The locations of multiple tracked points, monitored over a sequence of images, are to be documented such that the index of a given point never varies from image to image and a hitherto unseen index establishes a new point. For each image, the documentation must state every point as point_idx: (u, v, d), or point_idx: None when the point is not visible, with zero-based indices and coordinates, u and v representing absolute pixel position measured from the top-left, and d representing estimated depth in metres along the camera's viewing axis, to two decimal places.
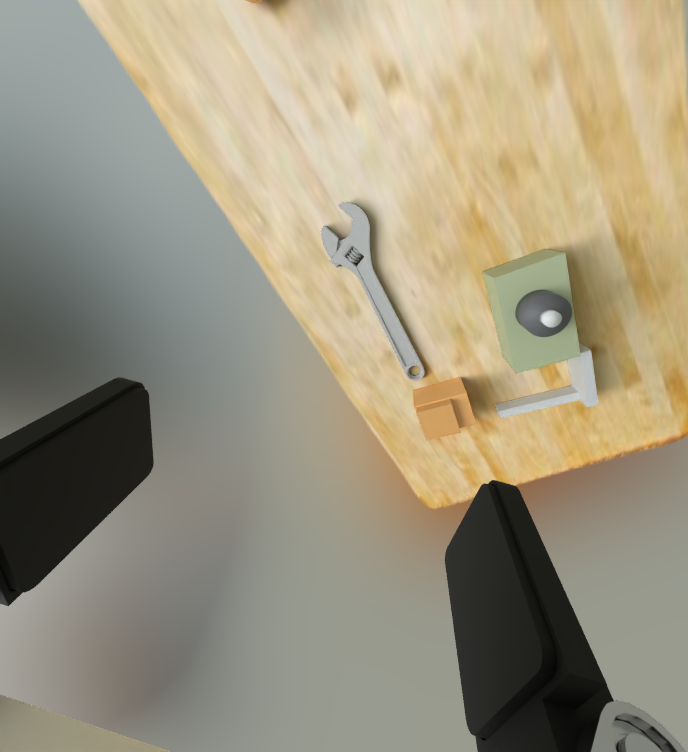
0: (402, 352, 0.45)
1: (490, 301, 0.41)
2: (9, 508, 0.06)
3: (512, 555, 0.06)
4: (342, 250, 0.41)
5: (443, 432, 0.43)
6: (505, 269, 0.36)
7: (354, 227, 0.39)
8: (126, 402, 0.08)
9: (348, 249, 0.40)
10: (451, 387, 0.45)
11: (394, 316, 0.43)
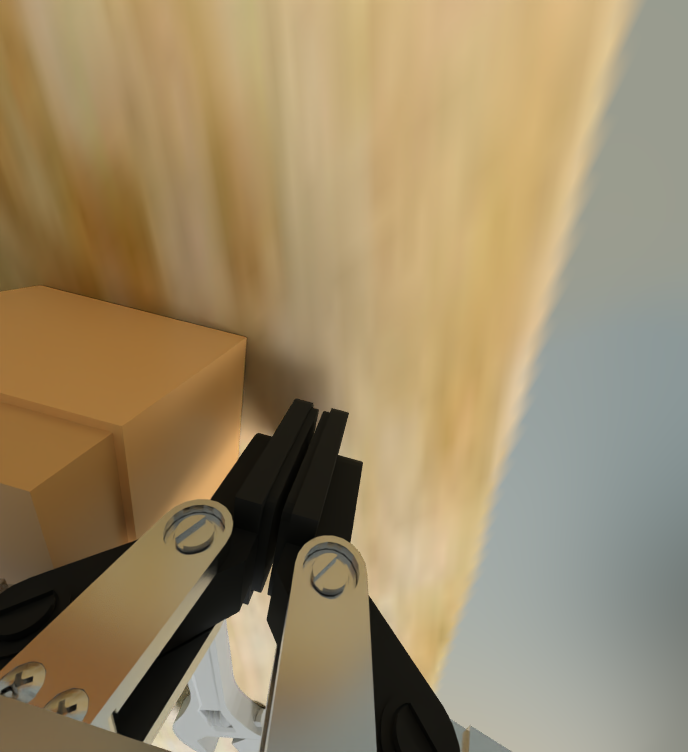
0: None
1: None
2: (275, 520, 0.06)
3: (309, 453, 0.07)
4: (234, 734, 0.20)
5: None
6: None
7: (197, 735, 0.21)
8: None
9: (223, 727, 0.20)
10: None
11: None
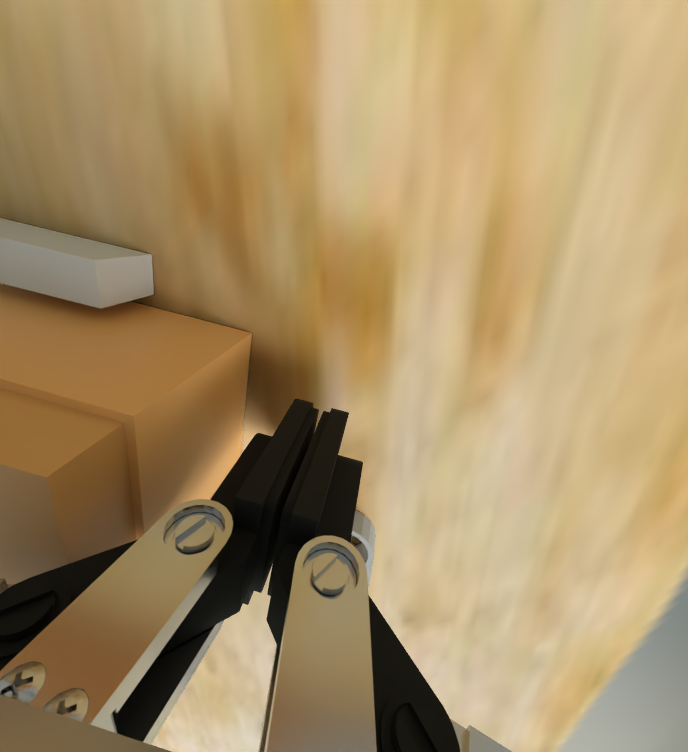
0: None
1: None
2: (275, 520, 0.06)
3: (309, 453, 0.07)
4: None
5: None
6: None
7: None
8: None
9: None
10: None
11: None
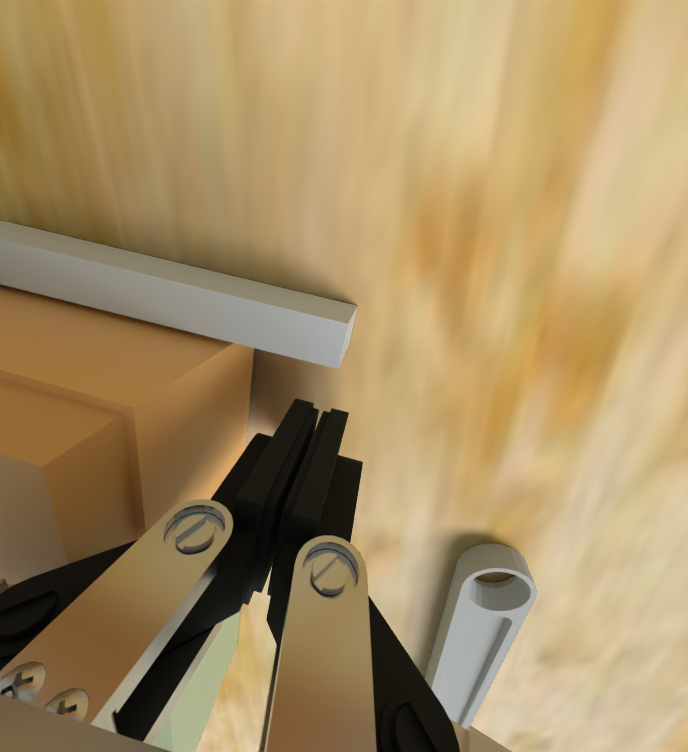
0: (484, 639, 0.14)
1: (235, 619, 0.16)
2: (275, 520, 0.06)
3: (309, 453, 0.07)
4: None
5: None
6: None
7: None
8: None
9: None
10: None
11: None
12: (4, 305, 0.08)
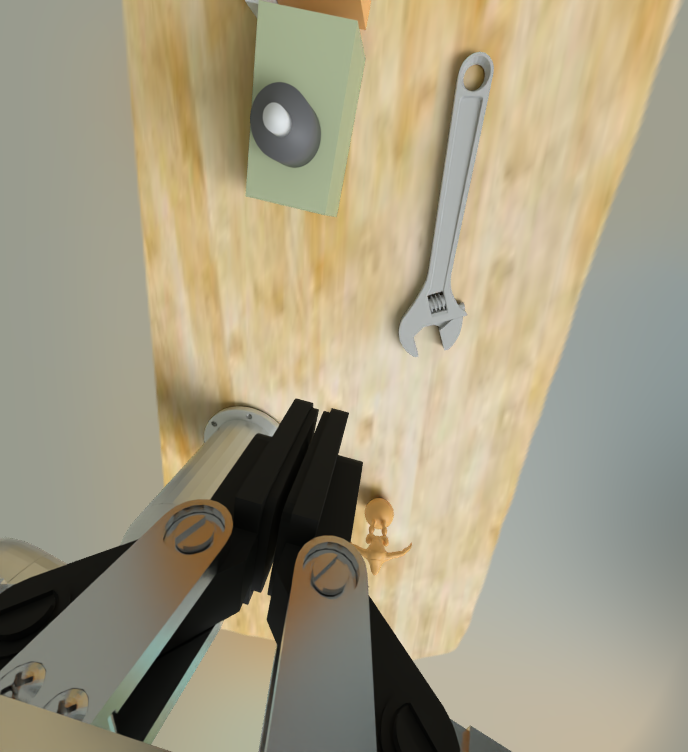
0: (469, 129, 0.27)
1: (343, 172, 0.30)
2: (275, 520, 0.06)
3: (309, 453, 0.07)
4: (445, 316, 0.33)
5: None
6: None
7: (416, 328, 0.34)
8: None
9: (438, 313, 0.33)
10: None
11: (443, 199, 0.29)
12: None
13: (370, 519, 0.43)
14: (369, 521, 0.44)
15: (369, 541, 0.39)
